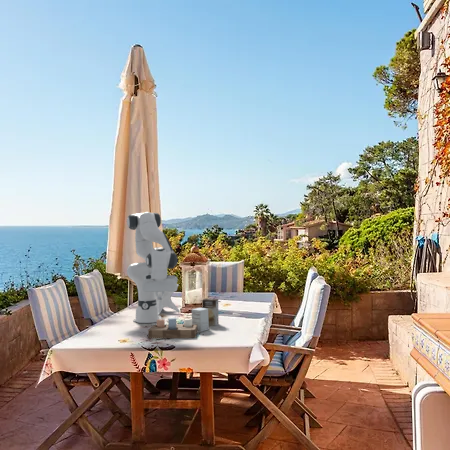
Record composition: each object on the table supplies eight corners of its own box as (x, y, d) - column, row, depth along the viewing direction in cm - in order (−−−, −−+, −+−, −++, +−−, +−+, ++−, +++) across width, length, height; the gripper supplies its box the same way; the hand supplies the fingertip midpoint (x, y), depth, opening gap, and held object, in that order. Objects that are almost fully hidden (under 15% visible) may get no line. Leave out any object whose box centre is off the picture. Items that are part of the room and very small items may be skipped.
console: (153, 332, 293) (153, 324, 293) (197, 332, 291) (197, 324, 291) (148, 338, 278) (148, 330, 278) (194, 337, 276) (194, 329, 276)
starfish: (179, 311, 364) (179, 284, 365) (158, 315, 350) (157, 287, 350) (162, 308, 378) (161, 282, 378) (140, 312, 364) (140, 285, 364)
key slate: (169, 328, 284) (168, 318, 284) (177, 328, 283) (176, 318, 283) (167, 330, 279) (167, 319, 279) (176, 330, 279) (175, 319, 279)
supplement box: (199, 328, 303) (199, 307, 303) (209, 329, 298) (208, 308, 298) (191, 330, 297) (191, 309, 297) (200, 331, 292) (200, 310, 292)
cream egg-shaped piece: (184, 329, 290) (184, 318, 290) (192, 329, 290) (192, 318, 290) (183, 330, 286) (183, 320, 286) (191, 330, 285) (191, 320, 285)
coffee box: (202, 325, 310) (201, 299, 310) (205, 323, 316) (204, 298, 316) (216, 326, 308) (215, 300, 308) (219, 324, 314) (218, 298, 314)
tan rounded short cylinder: (157, 329, 291) (157, 319, 291) (165, 329, 291) (165, 319, 291) (156, 331, 286) (155, 320, 286) (164, 331, 286) (163, 320, 286)
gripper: (178, 274, 291) (178, 298, 291) (143, 275, 292) (144, 298, 292) (176, 275, 285) (177, 300, 285) (141, 276, 286) (141, 300, 286)
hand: (160, 299), depth 289 cm, fingers closed
